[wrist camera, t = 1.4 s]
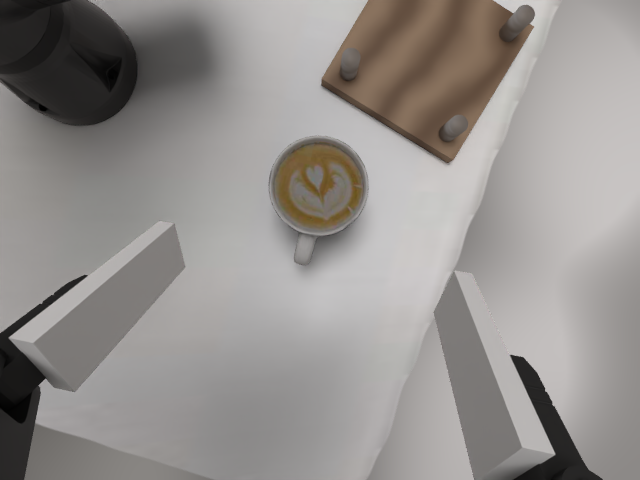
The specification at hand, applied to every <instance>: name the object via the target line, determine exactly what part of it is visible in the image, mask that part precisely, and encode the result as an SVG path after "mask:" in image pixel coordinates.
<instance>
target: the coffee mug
mask: <svg viewBox="0 0 640 480" xmlns="http://www.w3.org/2000/svg"><path fill="white" fill-rule="evenodd" d="M269 194H270V199H271V202H272V205H273V207H274V209H275V211H276V212H277V214H278V216H279V217H280V218H281V219H282V220H283V221H284V222H285V223H286V224H287V225H288V226H289V227H291V228H292V229H294V230H296V231H298V232H299V238H298V242H297V246H296V250H295V255H294V261H295V262H296V263H298V264H301V265H308V264H309V262H310V260H311V256H312V253H313V249H314V246H315V242H316V239H317V238H318V237H320V236H326V235H331V234H334V233H337V232H339V231H342V230H343V229H345V228H347V227H348V226H349V225H350V224H352V223H353V222H354V221H355V220H356V219H357V217H358V216H359V215H360V213H361V211H362V210H363V208H364V206H365V203H366V200H367V195H368V176H367V172H366V169H365V166H364V164H363V162H362V160H361V159H360V157H359V156H358V155H357V153H356V152H355V151H354V150H353V149H352V148H351V147H349V146H348V145H347V144H345V143H343V142H342V141H340V140H338V139H334V138H331V137H327V136H310V137H305V138H302V139H299V140H297V141H295V142H294V143H292V144H290V145H289V146H288V147H287V148H286V149H284V150H283V151H282V152H281V154H280V155H279V156H278V158H277V159H276V161H275V163H274V164H273V167H272V170H271V173H270V177H269Z"/></svg>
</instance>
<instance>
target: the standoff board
mask: <svg viewBox="0 0 640 480" xmlns="http://www.w3.org/2000/svg"><path fill="white" fill-rule="evenodd" d="M534 16H535V12H534V10H533V8H532V7H531V6H529V5H522V6H520V7H519V8H518V9H517V10H516V12H515V13H514V14H513V13H512V12H510V11H509V10H507V9H505V8H504V7H502V6H501V5H499V4H497V3H496V2H494V1H493V0H368V2H367V4H366V5H365V7H364V9H363V10H362V12H361V14H360V15H359V17H358V19H357V20H356V22H355V24H354V25H353V27H352V29H351V30H350V32H349V34H348V35H347V37H346V39H345V41H344V42H343V44H342V46H341V47H340V49H339V51H338V52H337V54H336V56H335V57H334V59H333V61H332V62H331V64H330V66H329V67H328V69H327V71H326V72H325V74H324V76H323V77H322V83H321V85H322V86H323V87H325V88H327V89H328V90H330V91H332V92H333V93H335V94H336V95H338V96H340V97H341V98H343V99H345V100H346V101H348V102H349V103H351V104H353V105H354V106H356V107H358V108H359V109H361V110H362V111H364V112H366V113H367V114H369V115H371V116H372V117H374V118H375V119H377V120H379V121H380V122H382V123H384V124H385V125H387V126H388V127H390V128H392V129H393V130H395V131H397V132H398V133H400V134H401V135H403V136H405V137H406V138H408V139H410V140H411V141H413V142H414V143H416V144H418V145H419V146H421V147H423V148H424V149H426V150H427V151H429V152H431V153H432V154H434V155H436V156H437V157H439V158H440V159H442V160H444V161H445V162H447V163H448V162H450V161H452V160H453V159H454V158H455V156H456V154H457V153H458V151H459V150H460V148H461V146H462V145H463V143H464V141H465V140H466V138H467V136H468V135H469V133H470V131H471V130H472V128H473V126H474V125H475V123H476V122H477V120H478V118H479V117H480V115H481V113H482V112H483V110H484V108H485V107H486V105H487V103H488V102H489V100H490V98H491V97H492V95H493V94H494V92H495V90H496V89H497V87H498V85H499V84H500V82H501V80H502V79H503V77H504V75H505V74H506V72H507V70H508V69H509V67H510V66H511V64H512V62H513V61H514V59H515V57H516V56H517V54H518V52H519V51H520V49H521V47H522V46H523V44H524V42H525V41H526V39H527V38H528V36H529V34H530V33H531V31H532V29H533V28H534V26H532V25H531V24H530V23H531V22H532V20H533V19H534Z"/></svg>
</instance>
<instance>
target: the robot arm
mask: <svg viewBox="0 0 640 480" xmlns="http://www.w3.org/2000/svg"><path fill="white" fill-rule="evenodd" d="M136 77H137V61H136V55H135V52H134V49H133V46H132V44H131V42H130V40H129V38H128V37H127V35H126V34H125V32H124V31H123V30H122V29H121V28H120V27H119V26H118V25H117V24H116V23H115V21H114V20H113V19H112V18H111V17H110V16H109V15H108V14H107V13H105V12H104V11H103V10H102V9H100V8H99V7H98V6H96V5H95V4H93V3H91V2H90V1H88V0H0V82H1V83H2V84H3V85H4V86H6V87H7V88H8V89H9V90H10V91H12V92H13V93H14V94H15V95H16V96H18V97H19V98H20V99H21V100H22V101H24V102H25V103H26V104H27V105H29V106H30V107H32V108H33V109H35V110H36V111H38V112H40V113H42V114H44V115H46V116H49V117H51V118H53V119H56V120H58V121H60V122H63V123H67V124H71V125H90V124H95V123H98V122H101V121H104V120H106V119H108V118H109V117H111V116H113V115H114V114H115V113H117V112H118V111H119V110H120V109H121V108H122V107H123V106H124V105H125V103H126V102H127V100H128V99H129V97H130V95H131V93H132V91H133V89H134V86H135V82H136ZM184 268H185V263H184V260H183V256H182V252H181V248H180V244H179V240H178V236H177V232H176V228H175V224H174V223H170V222H164V221H158V222H157V223H156V224H154V225H153V226H152V227H151V228H149V229H148V230H147V231H145V232H144V233H143V234H142V235H140V236H139V237H138V238H136V239H135V240H134V241H133V242H131V243H130V244H129V245H127V246H126V247H125V248H124V249H122V250H121V251H120V252H118V253H117V254H116V255H114V256H113V257H112V258H111V259H109V260H108V261H107V262H105V263H104V264H103V265H102V266H100V267H99V268H98V269H96V270H95V271H94V272H93V273H91V274H90V275H89V276H88V275H83V276H81V277H79V278H77V279H75V280H73V281H71V282H69V283H67V284H66V285H64V286H63V287H62V288H60V289H59V290H58V291H56V292H55V293H54V295H51V296H50V297H48V298H47V299H46V300H44V301H43V303H42V304H39V305H38V306H36V307H35V308H34V309H32V310H31V311H30V312H28V313H27V314H26V315H24V316H23V317H22V318H20V319H19V320H18V321H16V322H15V323H14V324H12V325H11V326H10V327H8V328H7V329H5V330H4V331H3V332H1V333H0V480H24V477H25V472H26V467H27V461H28V457H29V451H30V446H31V440H32V436H33V430H34V425H35V420H36V415H37V410H38V405H39V400H40V394H41V392H40V387H39V386H38V385H39V384H40V383H41V382H42V381H43V380H44V379H45V378H46V379H47V380H48V381H49V382H50V384H51V385H52V386H53V387H54V388H59V389H63V390H68V391H72V392H75V391H76V390H77V389H78V388H79V387H80V386H81V385H82V383H83V382H84V381H85V380H86V379H87V378H88V377H89V375H90V374H91V373H92V372H93V371H94V370H95V369H96V368H97V366H98V365H99V364H100V363H101V362H102V361H103V360H104V359H105V357H106V356H107V355H108V354H109V353H110V352H111V351H112V349H113V348H114V347H115V346H116V345H117V344H118V343H119V342H120V340H121V339H122V338H123V337H124V336H125V335H126V334H127V332H128V331H129V330H130V329H131V328H132V327H133V326H134V325H135V323H136V322H137V321H138V320H139V319H140V318H141V317H142V315H143V314H144V313H145V312H146V311H147V310H148V309H149V308H150V306H151V305H152V304H153V303H154V302H155V301H156V300H157V298H158V297H159V296H160V295H161V294H162V293H163V292H164V291H165V289H166V288H167V287H168V286H169V285H170V284H171V283H172V282H173V280H174V279H175V278H176V277H177V276H178V275H179V274H180V272H181V271H182V270H183V269H184ZM434 316H435V320H436V324H437V328H438V332H439V336H440V340H441V345H442V349H443V352H444V357H445V361H446V365H447V369H448V373H449V378H450V381H451V386H452V390H453V394H454V398H455V402H456V406H457V411H458V414H459V419H460V423H461V427H462V431H463V435H464V439H465V444H466V448H467V452H468V456H469V460H470V464H471V468H472V472H473V477H474V480H603V479H601V478H600V477H599V476H597V475H596V474H594V473H593V472H591V471H589V470H588V468H587V467H586V465H585V463H584V462H583V460H582V458H581V456H580V455H579V453H578V451H577V449H576V447H575V445H574V443H573V441H572V439H571V437H570V435H569V433H568V431H567V429H566V428H565V426H564V424H563V422H562V420H561V418H560V416H559V414H558V412H557V410H556V409H555V407H554V406H553V405H552V401H551V399H550V397H549V395H548V393H547V392H545V387H544V386H543V384H542V382H541V380H540V378H539V376H538V374H537V372H536V371H535V370H534V369H533V368H532V367H531V365H530V364H529V363H528V362H527V361H526V360H525V359H524V358H523V357H519V356H514V355H509V353H508V350H507V348H506V346H505V344H504V342H503V340H502V337H501V335H500V333H499V331H498V329H497V327H496V325H495V322H494V320H493V318H492V316H491V314H490V311H489V310H488V307H487V305H486V303H485V301H484V298H483V296H482V294H481V292H480V290H479V288H478V285H477V283H476V281H475V279H474V277H473V275H472V274H471V273H466V272H459V271H454V272H453V274H452V276H451V278H450V280H449V282H448V284H447V286H446V288H445V290H444V292H443V294H442V296H441V298H440V300H439V302H438V304H437V306H436V308H435V310H434Z"/></svg>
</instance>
